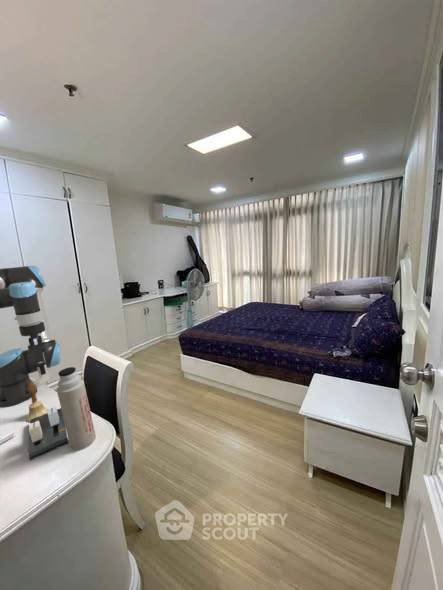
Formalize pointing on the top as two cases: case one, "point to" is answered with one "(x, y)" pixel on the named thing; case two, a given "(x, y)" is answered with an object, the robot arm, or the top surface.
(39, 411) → the hand bell
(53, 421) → the fader
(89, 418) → the thermos bottle
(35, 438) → the fader
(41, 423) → the console
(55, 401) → the top surface
